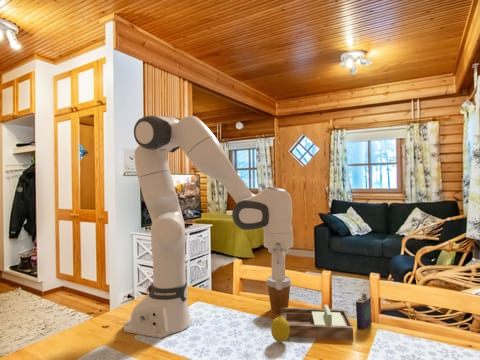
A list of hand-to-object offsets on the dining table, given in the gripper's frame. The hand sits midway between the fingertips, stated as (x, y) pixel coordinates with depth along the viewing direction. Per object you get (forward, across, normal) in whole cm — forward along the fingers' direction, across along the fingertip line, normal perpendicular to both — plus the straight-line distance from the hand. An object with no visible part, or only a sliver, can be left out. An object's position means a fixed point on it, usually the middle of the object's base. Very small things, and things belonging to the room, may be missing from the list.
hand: (279, 286), depth 92 cm
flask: (+17, +14, -28) cm, 36 cm away
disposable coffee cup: (+17, +24, +1) cm, 29 cm away
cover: (+14, +11, -16) cm, 24 cm away
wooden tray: (+17, +11, -11) cm, 23 cm away
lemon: (+17, 0, 0) cm, 17 cm away
